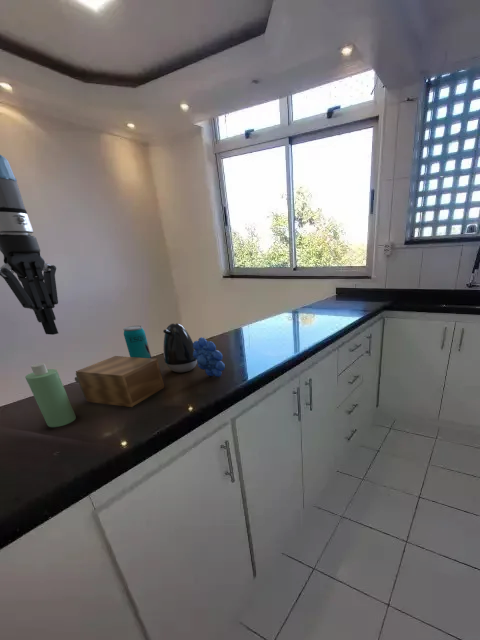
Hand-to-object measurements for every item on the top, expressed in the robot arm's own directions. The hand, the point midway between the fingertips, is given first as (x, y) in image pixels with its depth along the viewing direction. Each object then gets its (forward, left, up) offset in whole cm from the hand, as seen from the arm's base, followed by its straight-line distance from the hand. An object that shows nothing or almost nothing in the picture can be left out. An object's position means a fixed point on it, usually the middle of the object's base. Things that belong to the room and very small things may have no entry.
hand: (52, 333), depth 83 cm
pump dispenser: (+23, +20, -16) cm, 35 cm away
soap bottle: (+15, -16, -16) cm, 27 cm away
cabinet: (+19, 0, -16) cm, 25 cm away
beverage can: (+13, +14, -16) cm, 25 cm away
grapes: (+35, +16, -16) cm, 42 cm away
